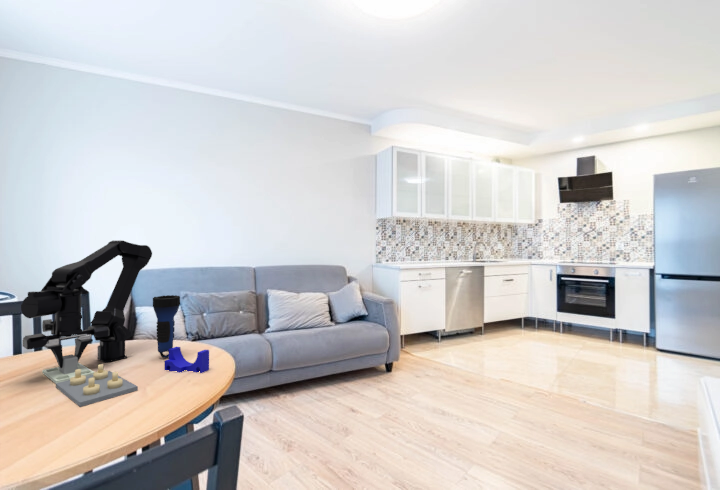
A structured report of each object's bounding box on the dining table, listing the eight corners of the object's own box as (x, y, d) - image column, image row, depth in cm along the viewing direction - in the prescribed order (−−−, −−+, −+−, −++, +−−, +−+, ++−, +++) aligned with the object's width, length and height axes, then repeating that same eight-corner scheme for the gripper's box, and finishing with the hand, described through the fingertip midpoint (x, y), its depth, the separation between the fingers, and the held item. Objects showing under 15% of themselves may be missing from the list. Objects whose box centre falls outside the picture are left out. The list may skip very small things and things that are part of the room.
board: (78, 365, 111) (78, 349, 111) (94, 375, 103) (95, 358, 103) (42, 372, 105) (42, 356, 105) (56, 384, 96) (56, 365, 96)
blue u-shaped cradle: (164, 371, 107) (164, 350, 107) (176, 366, 111) (176, 346, 111) (198, 375, 103) (198, 354, 103) (209, 370, 108) (209, 349, 108)
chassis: (109, 374, 104) (109, 358, 104) (137, 390, 92) (137, 372, 92) (55, 387, 94) (55, 369, 94) (80, 406, 83) (80, 387, 83)
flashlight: (176, 361, 116) (176, 298, 116) (148, 362, 114) (149, 298, 114) (182, 353, 124) (182, 294, 124) (156, 355, 122) (157, 295, 122)
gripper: (97, 304, 116) (96, 353, 116) (18, 313, 101) (17, 369, 101) (110, 308, 109) (110, 360, 109) (27, 318, 95) (27, 378, 95)
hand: (68, 366), depth 104 cm, fingers closed on board, 3 cm apart
